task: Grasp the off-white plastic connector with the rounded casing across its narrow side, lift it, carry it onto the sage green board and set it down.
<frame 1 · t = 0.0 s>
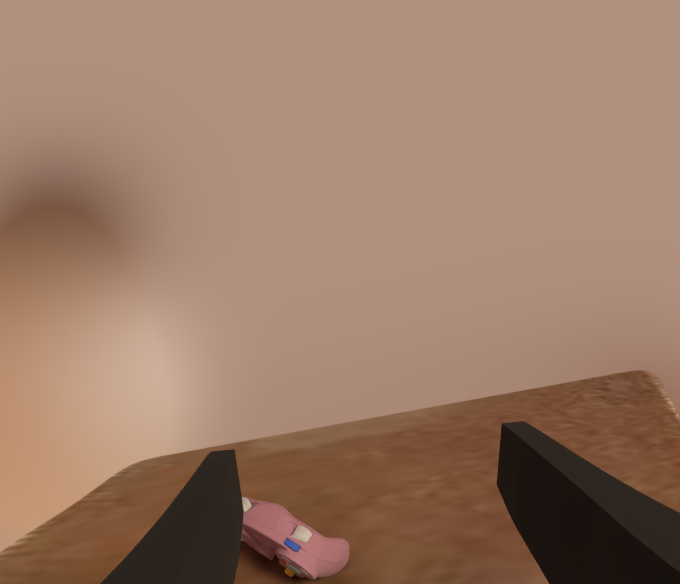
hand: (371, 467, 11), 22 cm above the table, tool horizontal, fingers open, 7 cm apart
pink toy car: (286, 562, 34), on the table
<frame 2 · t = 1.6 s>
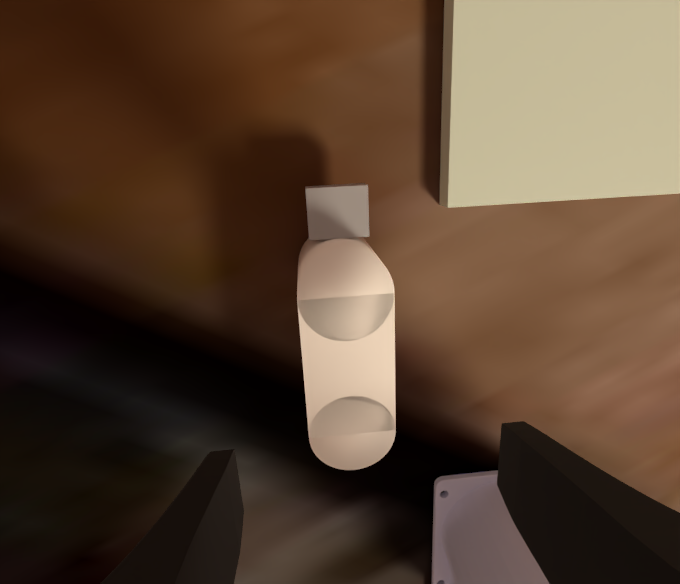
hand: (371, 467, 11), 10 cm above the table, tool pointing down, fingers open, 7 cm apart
white plastic connector: (338, 321, 21), on the table
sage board: (601, 42, 18), on the table
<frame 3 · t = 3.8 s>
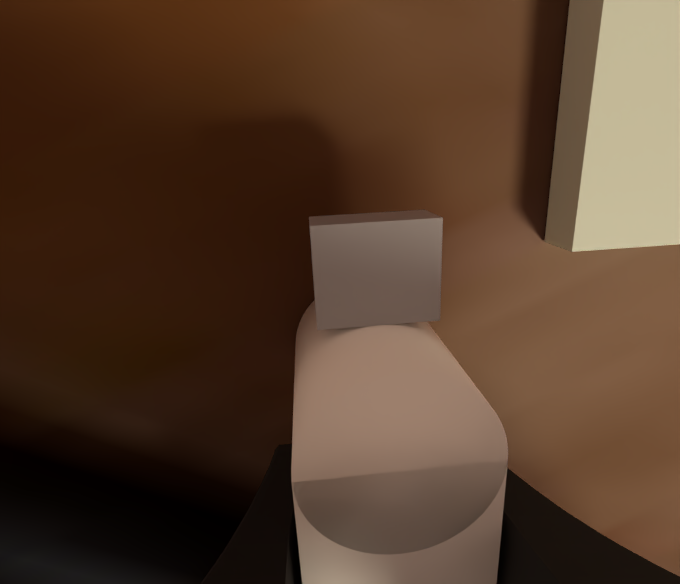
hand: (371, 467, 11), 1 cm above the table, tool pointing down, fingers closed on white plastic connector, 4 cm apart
white plastic connector: (364, 433, 13), on the table, touching gripper
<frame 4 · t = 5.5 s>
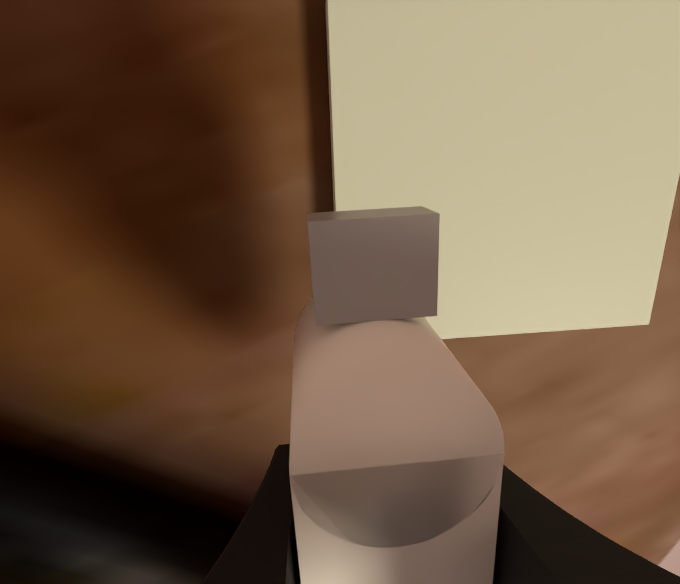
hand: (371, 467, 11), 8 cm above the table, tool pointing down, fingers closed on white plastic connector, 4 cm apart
white plastic connector: (362, 430, 13), point 7 cm above the table, touching gripper
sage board: (498, 181, 18), on the table
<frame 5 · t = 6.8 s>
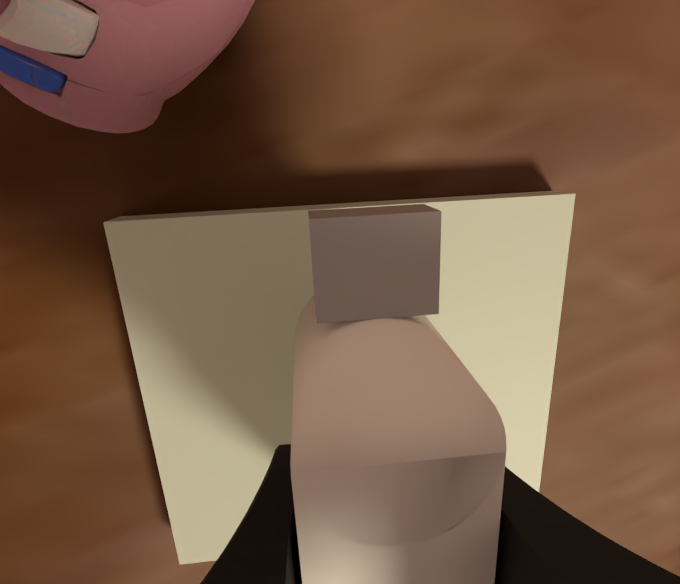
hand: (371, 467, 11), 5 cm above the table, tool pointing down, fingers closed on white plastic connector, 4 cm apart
white plastic connector: (363, 429, 13), point 3 cm above the table, touching gripper
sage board: (352, 381, 16), on the table
when the fingers open (4 cm above the table, at t = 7.7 s): white plastic connector drops 1 cm, resting on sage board.
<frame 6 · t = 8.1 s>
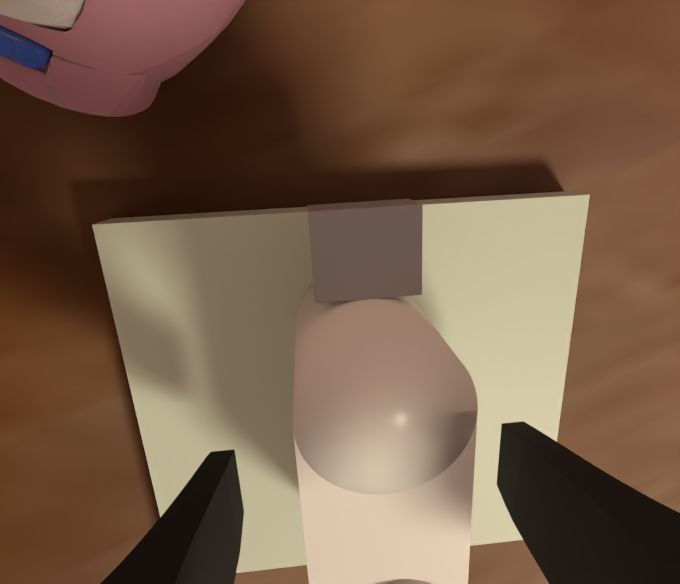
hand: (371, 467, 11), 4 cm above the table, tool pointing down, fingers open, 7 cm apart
white plastic connector: (359, 406, 14), point 1 cm above the table, touching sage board
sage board: (354, 389, 15), on the table
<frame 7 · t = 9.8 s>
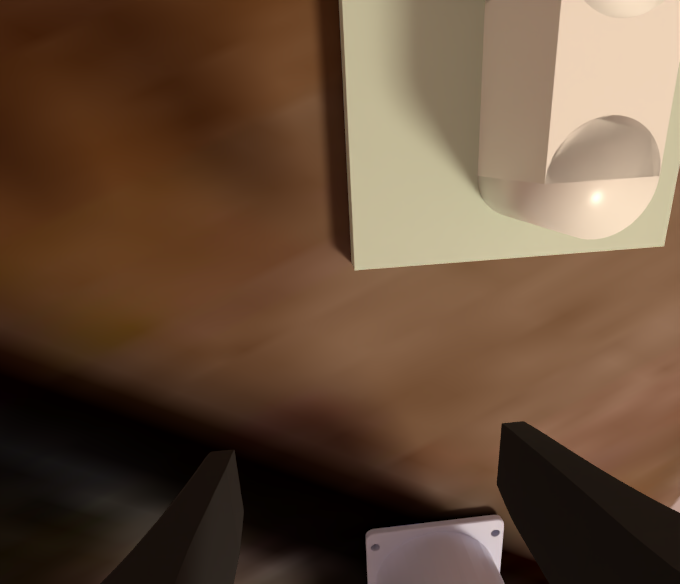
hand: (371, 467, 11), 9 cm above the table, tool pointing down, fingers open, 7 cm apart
white plastic connector: (526, 92, 16), point 1 cm above the table, touching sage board
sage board: (510, 99, 18), on the table
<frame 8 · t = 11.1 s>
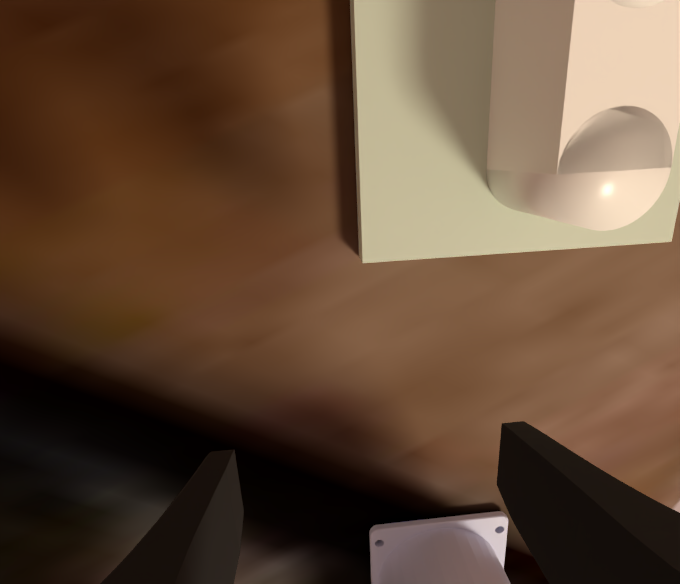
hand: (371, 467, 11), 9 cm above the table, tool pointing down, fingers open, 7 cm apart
white plastic connector: (535, 86, 16), point 1 cm above the table, touching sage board
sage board: (520, 93, 18), on the table
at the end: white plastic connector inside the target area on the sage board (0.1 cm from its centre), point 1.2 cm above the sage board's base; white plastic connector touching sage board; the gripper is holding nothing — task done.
